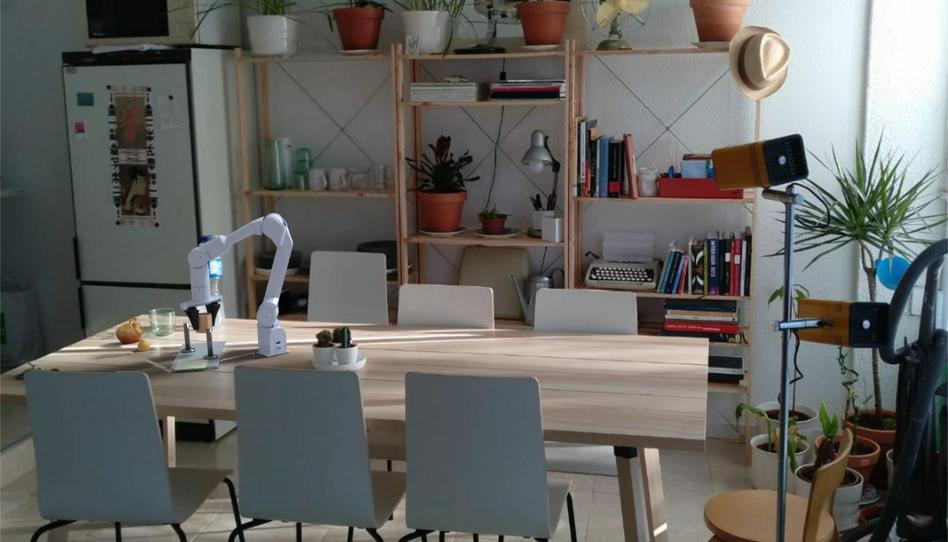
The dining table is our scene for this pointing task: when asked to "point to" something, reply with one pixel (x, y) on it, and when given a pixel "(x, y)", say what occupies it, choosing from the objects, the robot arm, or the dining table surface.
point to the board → (200, 355)
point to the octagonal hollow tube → (204, 322)
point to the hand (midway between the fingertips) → (203, 327)
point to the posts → (189, 349)
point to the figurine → (142, 344)
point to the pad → (191, 364)
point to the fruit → (126, 334)
